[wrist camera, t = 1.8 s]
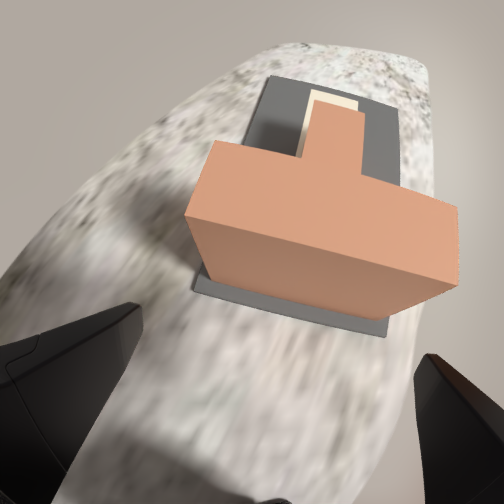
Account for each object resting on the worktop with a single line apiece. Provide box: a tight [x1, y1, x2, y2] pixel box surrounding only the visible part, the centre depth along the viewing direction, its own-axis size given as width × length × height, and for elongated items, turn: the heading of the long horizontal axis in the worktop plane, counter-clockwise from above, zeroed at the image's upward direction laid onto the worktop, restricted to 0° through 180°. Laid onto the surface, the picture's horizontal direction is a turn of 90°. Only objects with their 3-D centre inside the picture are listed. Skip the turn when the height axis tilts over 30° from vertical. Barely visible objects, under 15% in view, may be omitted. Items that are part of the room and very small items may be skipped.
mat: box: [194, 75, 400, 338], centre depth 25 cm, size 24×14×1 cm, turn 165°
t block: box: [184, 100, 459, 321], centre depth 19 cm, size 14×12×10 cm
